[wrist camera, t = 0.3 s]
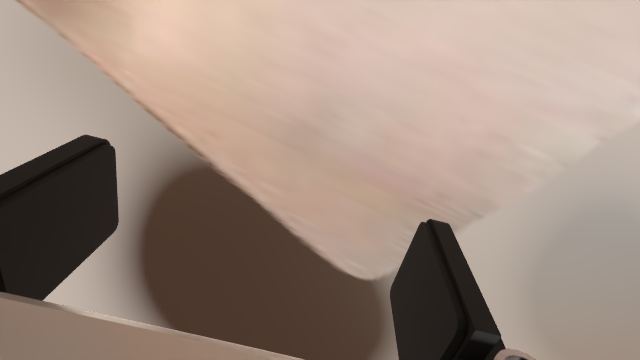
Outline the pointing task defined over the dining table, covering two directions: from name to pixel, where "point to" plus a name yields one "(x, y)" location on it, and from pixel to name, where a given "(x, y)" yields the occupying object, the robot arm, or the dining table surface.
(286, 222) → the dining table surface
